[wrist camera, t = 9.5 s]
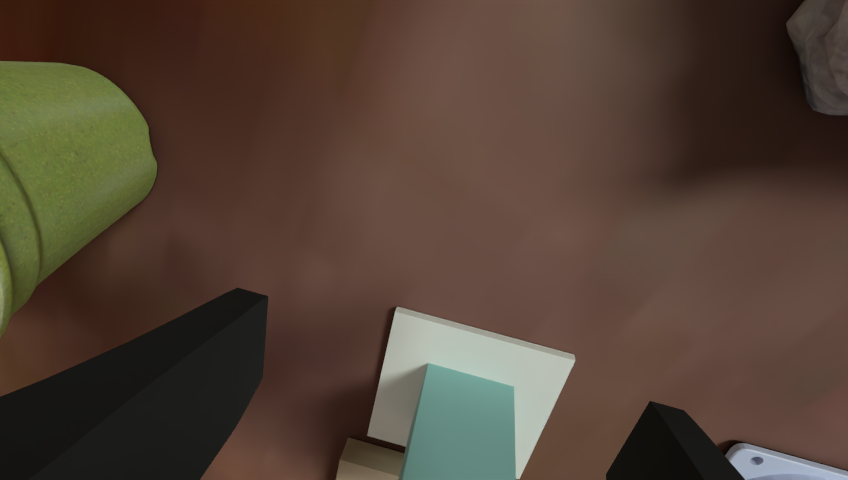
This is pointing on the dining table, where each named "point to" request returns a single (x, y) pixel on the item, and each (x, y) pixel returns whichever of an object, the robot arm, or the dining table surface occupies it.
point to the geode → (822, 53)
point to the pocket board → (368, 462)
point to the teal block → (461, 429)
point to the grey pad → (473, 354)
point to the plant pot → (62, 169)
